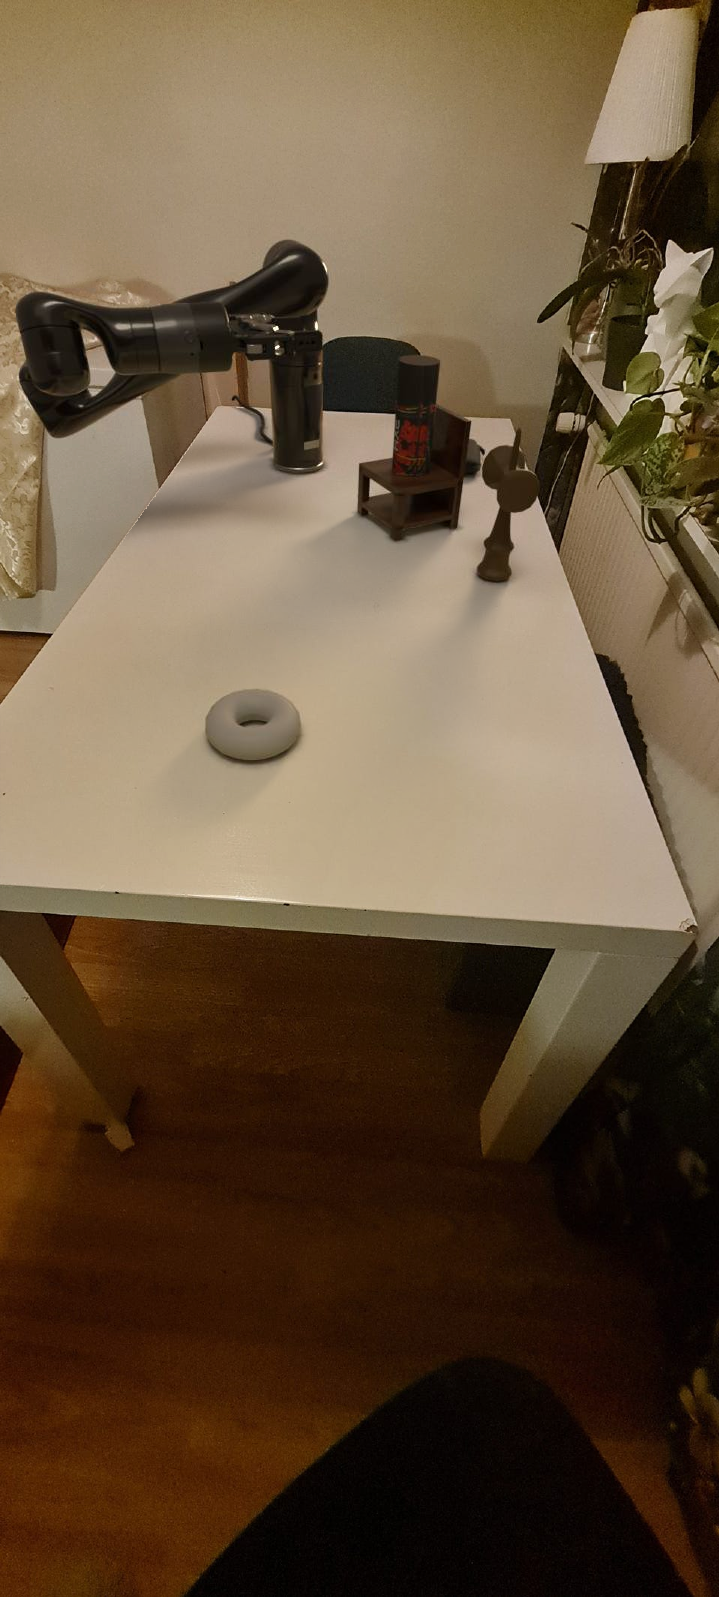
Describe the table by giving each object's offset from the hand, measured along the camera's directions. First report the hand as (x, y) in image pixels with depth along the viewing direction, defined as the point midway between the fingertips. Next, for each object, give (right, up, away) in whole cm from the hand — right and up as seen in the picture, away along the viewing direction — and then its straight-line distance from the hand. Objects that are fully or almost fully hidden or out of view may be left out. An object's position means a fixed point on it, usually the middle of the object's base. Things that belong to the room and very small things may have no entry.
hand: (312, 332), depth 94 cm
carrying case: (+25, +2, +42) cm, 49 cm away
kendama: (+26, -29, +10) cm, 40 cm away
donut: (-5, -56, -19) cm, 59 cm away
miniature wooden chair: (+14, -16, +23) cm, 31 cm away
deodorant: (+14, -10, +17) cm, 25 cm away
